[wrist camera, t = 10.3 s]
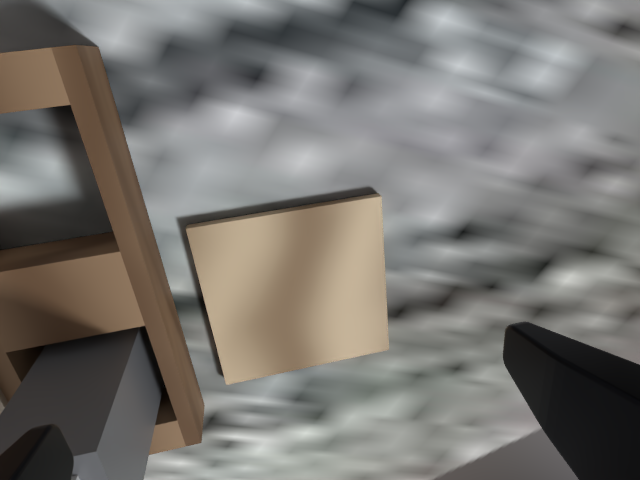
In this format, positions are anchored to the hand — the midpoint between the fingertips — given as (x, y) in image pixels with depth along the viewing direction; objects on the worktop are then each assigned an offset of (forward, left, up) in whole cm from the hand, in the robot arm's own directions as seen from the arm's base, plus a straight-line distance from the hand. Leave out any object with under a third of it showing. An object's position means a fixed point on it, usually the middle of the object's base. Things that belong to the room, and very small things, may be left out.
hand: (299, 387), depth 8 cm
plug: (+8, +6, -12) cm, 16 cm away
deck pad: (-1, +5, -12) cm, 13 cm away
